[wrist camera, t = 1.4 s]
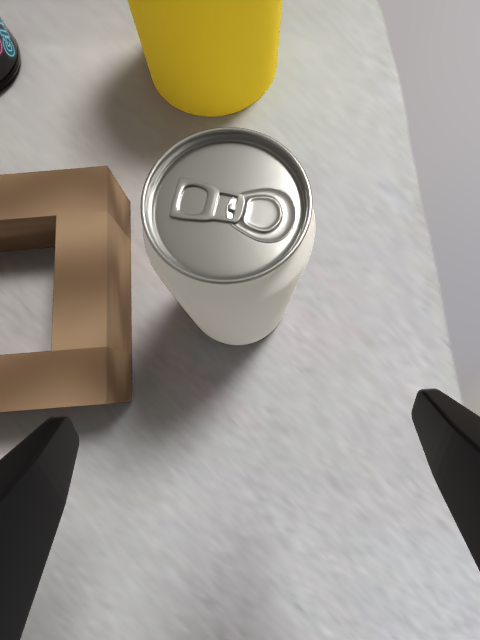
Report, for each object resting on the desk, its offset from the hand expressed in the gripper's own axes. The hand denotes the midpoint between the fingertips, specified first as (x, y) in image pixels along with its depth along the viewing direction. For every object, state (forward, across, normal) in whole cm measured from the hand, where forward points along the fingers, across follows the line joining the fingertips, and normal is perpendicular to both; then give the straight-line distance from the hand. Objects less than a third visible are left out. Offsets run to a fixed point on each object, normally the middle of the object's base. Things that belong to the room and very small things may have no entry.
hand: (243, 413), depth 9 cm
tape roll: (+28, +1, -9) cm, 29 cm away
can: (+14, 0, +5) cm, 15 cm away
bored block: (+14, +14, +4) cm, 21 cm away
